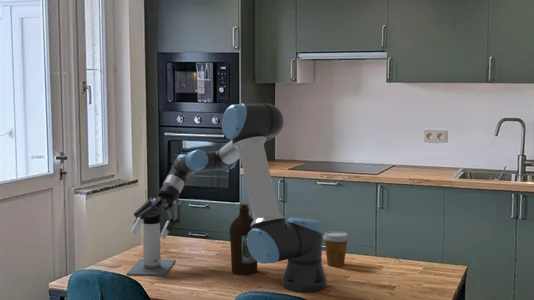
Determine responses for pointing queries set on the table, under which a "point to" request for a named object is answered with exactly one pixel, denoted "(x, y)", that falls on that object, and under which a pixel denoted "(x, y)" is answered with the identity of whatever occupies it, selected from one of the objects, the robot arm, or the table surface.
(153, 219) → the travel mug
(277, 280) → the table surface
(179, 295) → the table surface
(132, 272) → the rubber mat
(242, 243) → the olive oil
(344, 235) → the disposable coffee cup
